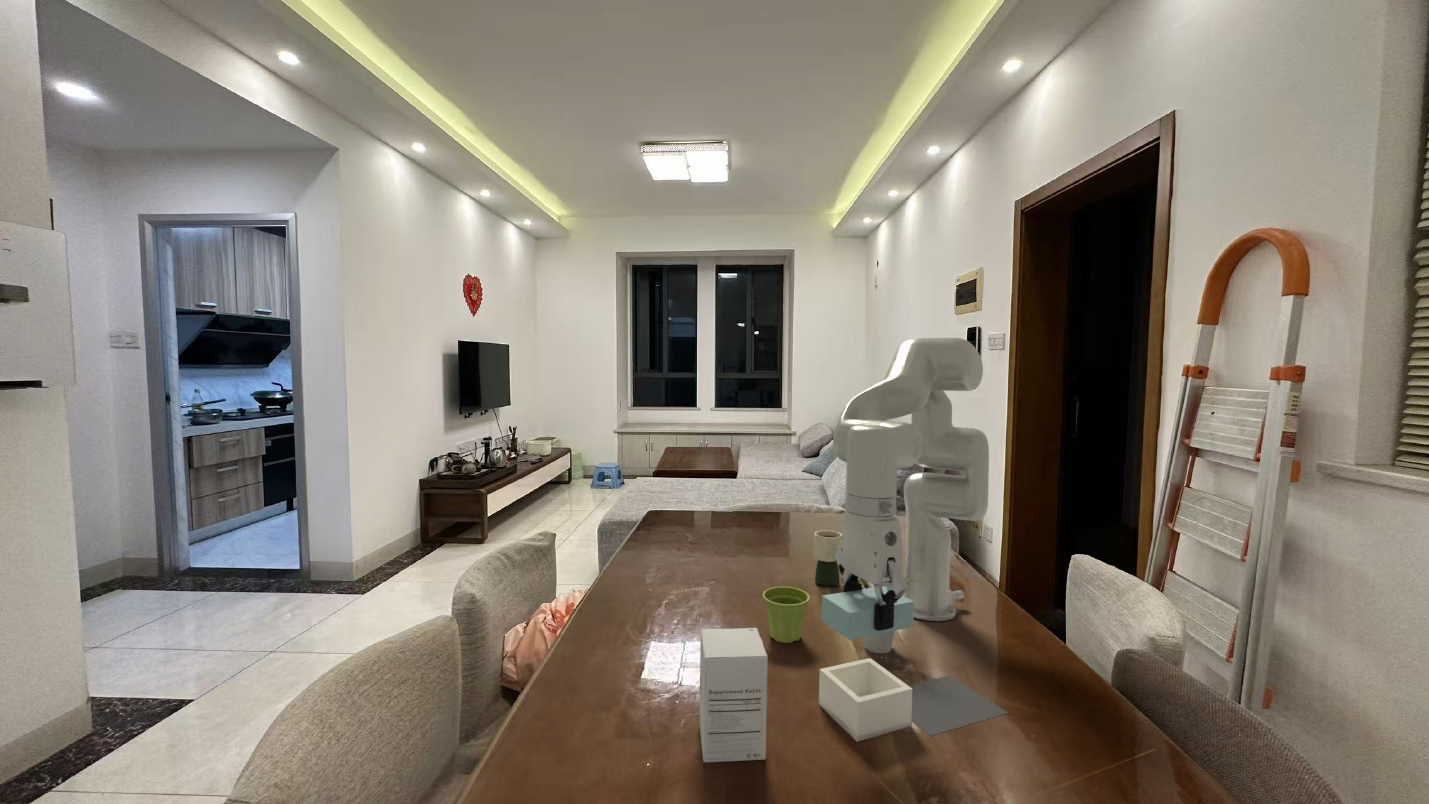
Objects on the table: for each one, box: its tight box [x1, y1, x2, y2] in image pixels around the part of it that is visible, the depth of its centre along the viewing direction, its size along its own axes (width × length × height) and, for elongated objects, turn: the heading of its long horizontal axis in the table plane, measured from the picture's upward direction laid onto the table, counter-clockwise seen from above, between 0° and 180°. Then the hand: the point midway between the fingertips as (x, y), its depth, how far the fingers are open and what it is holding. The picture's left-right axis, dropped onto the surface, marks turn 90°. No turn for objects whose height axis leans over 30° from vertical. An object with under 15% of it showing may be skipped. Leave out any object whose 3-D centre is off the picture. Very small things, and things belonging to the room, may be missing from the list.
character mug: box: [813, 530, 842, 587], centre depth 145 cm, size 11×7×13 cm, turn 20°
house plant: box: [858, 566, 924, 654], centre depth 111 cm, size 14×14×16 cm
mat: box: [908, 675, 1009, 737], centre depth 92 cm, size 16×12×1 cm
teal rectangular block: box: [821, 586, 915, 641], centre depth 88 cm, size 12×7×4 cm, turn 113°
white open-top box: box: [818, 657, 912, 742], centre depth 89 cm, size 10×10×6 cm
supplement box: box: [699, 627, 769, 763], centre depth 82 cm, size 9×9×15 cm
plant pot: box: [762, 586, 810, 644], centre depth 115 cm, size 9×9×9 cm
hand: (867, 617), depth 88 cm, fingers closed on teal rectangular block, 7 cm apart
